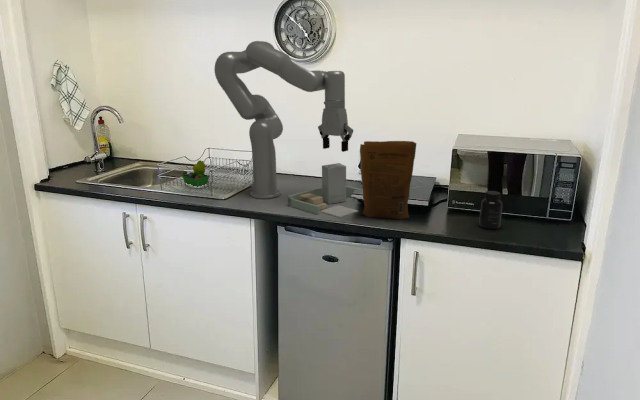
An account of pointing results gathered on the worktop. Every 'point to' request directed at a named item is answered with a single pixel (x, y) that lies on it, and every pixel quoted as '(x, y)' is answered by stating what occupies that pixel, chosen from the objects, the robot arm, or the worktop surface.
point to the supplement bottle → (491, 210)
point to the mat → (339, 211)
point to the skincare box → (334, 183)
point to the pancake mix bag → (386, 177)
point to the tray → (296, 203)
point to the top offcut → (311, 199)
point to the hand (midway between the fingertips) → (335, 149)
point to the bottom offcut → (323, 206)
